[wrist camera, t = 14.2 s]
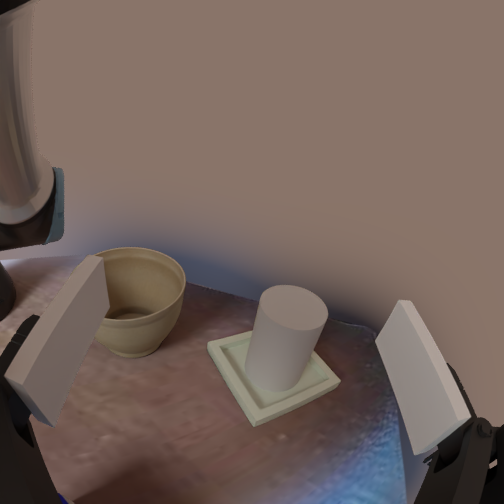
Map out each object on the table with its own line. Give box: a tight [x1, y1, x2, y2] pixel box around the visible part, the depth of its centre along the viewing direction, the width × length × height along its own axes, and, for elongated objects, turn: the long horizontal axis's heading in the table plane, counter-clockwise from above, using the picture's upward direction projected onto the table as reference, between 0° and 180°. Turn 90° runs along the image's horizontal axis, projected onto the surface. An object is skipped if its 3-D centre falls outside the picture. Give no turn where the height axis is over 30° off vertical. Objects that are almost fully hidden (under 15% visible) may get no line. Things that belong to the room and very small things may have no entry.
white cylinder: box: [244, 285, 328, 392], centre depth 36 cm, size 8×8×12 cm
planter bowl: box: [70, 247, 186, 358], centre depth 38 cm, size 16×16×11 cm
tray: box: [207, 330, 341, 427], centre depth 39 cm, size 14×14×2 cm
